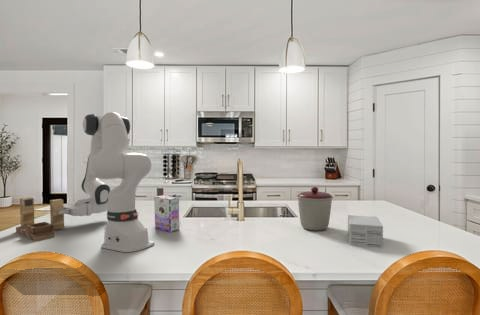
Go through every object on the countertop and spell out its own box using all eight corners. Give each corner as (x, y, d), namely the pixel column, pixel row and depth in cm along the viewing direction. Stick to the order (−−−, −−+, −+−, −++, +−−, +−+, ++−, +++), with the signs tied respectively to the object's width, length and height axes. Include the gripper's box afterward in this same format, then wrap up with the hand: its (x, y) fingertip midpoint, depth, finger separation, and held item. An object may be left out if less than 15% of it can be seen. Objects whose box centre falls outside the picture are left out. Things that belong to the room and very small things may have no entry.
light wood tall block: (64, 227, 158) (63, 199, 157) (54, 229, 154) (53, 201, 154) (59, 225, 161) (59, 198, 161) (50, 227, 158) (49, 200, 157)
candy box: (179, 230, 155) (179, 197, 155) (169, 232, 151) (169, 199, 150) (164, 225, 165) (163, 194, 164) (154, 227, 160) (154, 196, 160)
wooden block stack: (54, 236, 145) (53, 201, 144) (34, 241, 138) (33, 204, 138) (34, 228, 159) (33, 196, 159) (16, 232, 153) (15, 198, 152)
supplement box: (347, 234, 147) (347, 214, 147) (377, 236, 143) (378, 216, 143) (349, 245, 131) (349, 223, 131) (383, 248, 127) (383, 225, 127)
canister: (289, 228, 157) (289, 187, 157) (308, 222, 171) (308, 183, 170) (322, 235, 145) (322, 190, 144) (339, 227, 158) (339, 186, 158)
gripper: (73, 199, 174) (46, 203, 163) (92, 203, 161) (63, 207, 150) (74, 211, 174) (46, 215, 163) (92, 215, 161) (64, 220, 151)
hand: (55, 211), depth 157 cm, fingers closed on light wood tall block, 4 cm apart
